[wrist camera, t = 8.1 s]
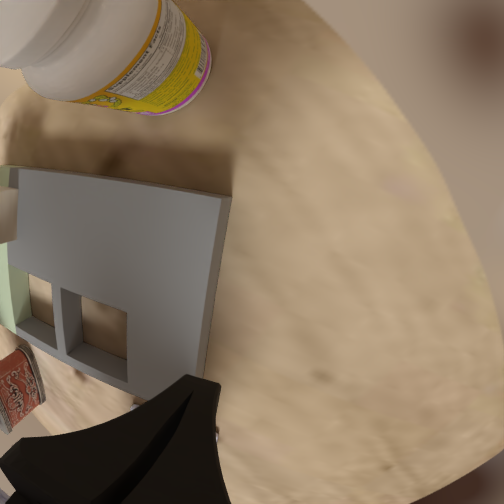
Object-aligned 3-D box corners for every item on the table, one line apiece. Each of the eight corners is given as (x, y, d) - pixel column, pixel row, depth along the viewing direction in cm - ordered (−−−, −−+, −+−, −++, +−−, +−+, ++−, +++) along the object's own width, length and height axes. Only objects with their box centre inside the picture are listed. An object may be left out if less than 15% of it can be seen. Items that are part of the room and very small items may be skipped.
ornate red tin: (16, 340, 25) (-45, 379, 15) (35, 351, 24) (-29, 396, 15) (31, 394, 27) (-18, 436, 17) (49, 405, 26) (0, 452, 17)
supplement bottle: (106, 79, 17) (-44, 46, 5) (172, 11, 15) (58, -87, 3) (161, 138, 18) (-7, 135, 6) (237, 65, 16) (143, -57, 4)
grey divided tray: (200, 395, 22) (183, 429, 18) (10, 311, 24) (-15, 325, 20) (232, 196, 18) (213, 200, 14) (8, 164, 20) (-24, 166, 17)
